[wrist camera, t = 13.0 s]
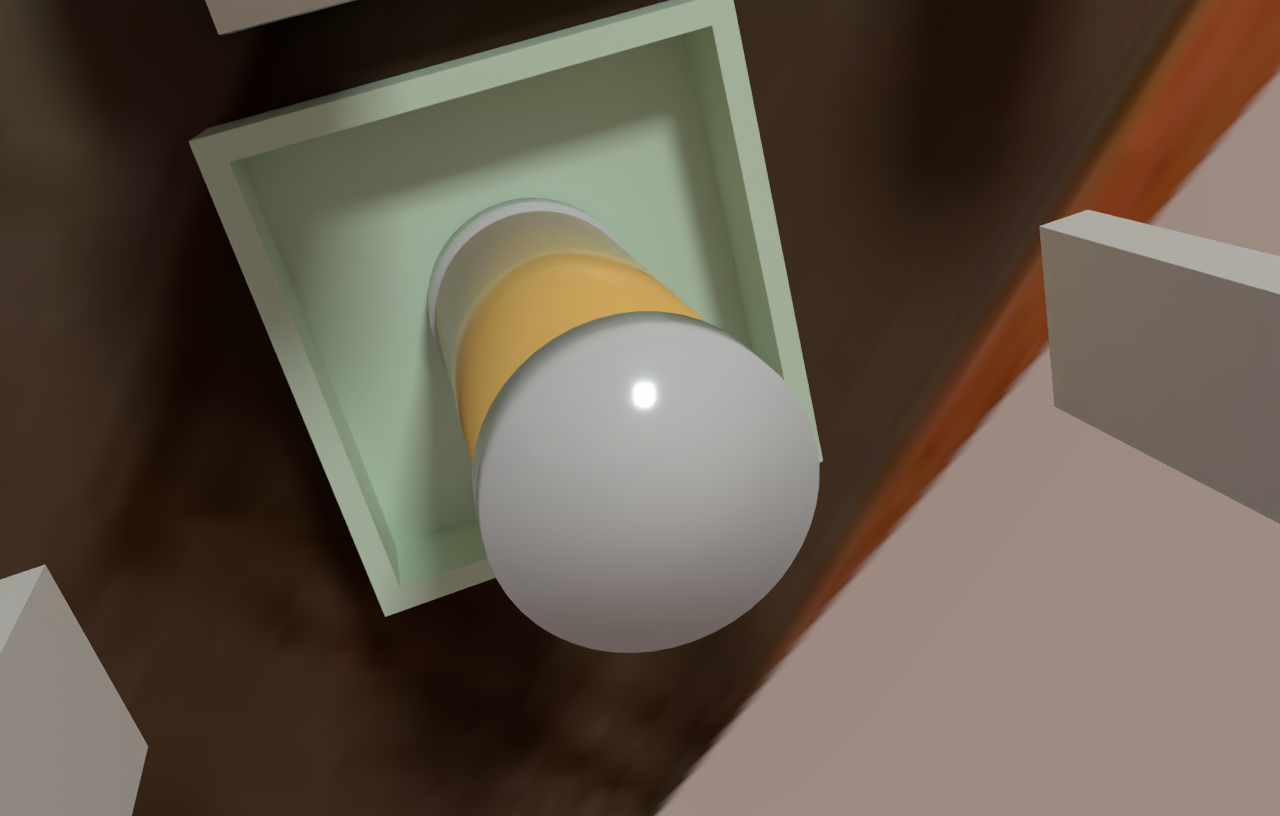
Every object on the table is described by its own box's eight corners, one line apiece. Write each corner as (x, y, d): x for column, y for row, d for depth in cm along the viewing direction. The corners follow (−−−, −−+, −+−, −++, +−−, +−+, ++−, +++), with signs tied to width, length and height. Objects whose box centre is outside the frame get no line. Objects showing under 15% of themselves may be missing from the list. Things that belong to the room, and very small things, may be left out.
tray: (381, 560, 24) (384, 616, 22) (206, 128, 20) (188, 141, 18) (780, 422, 25) (823, 461, 23) (690, -6, 21) (731, -10, 19)
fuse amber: (397, 233, 21) (430, 401, 12) (603, 171, 22) (785, 285, 12) (464, 425, 23) (538, 699, 14) (653, 362, 23) (843, 585, 14)
